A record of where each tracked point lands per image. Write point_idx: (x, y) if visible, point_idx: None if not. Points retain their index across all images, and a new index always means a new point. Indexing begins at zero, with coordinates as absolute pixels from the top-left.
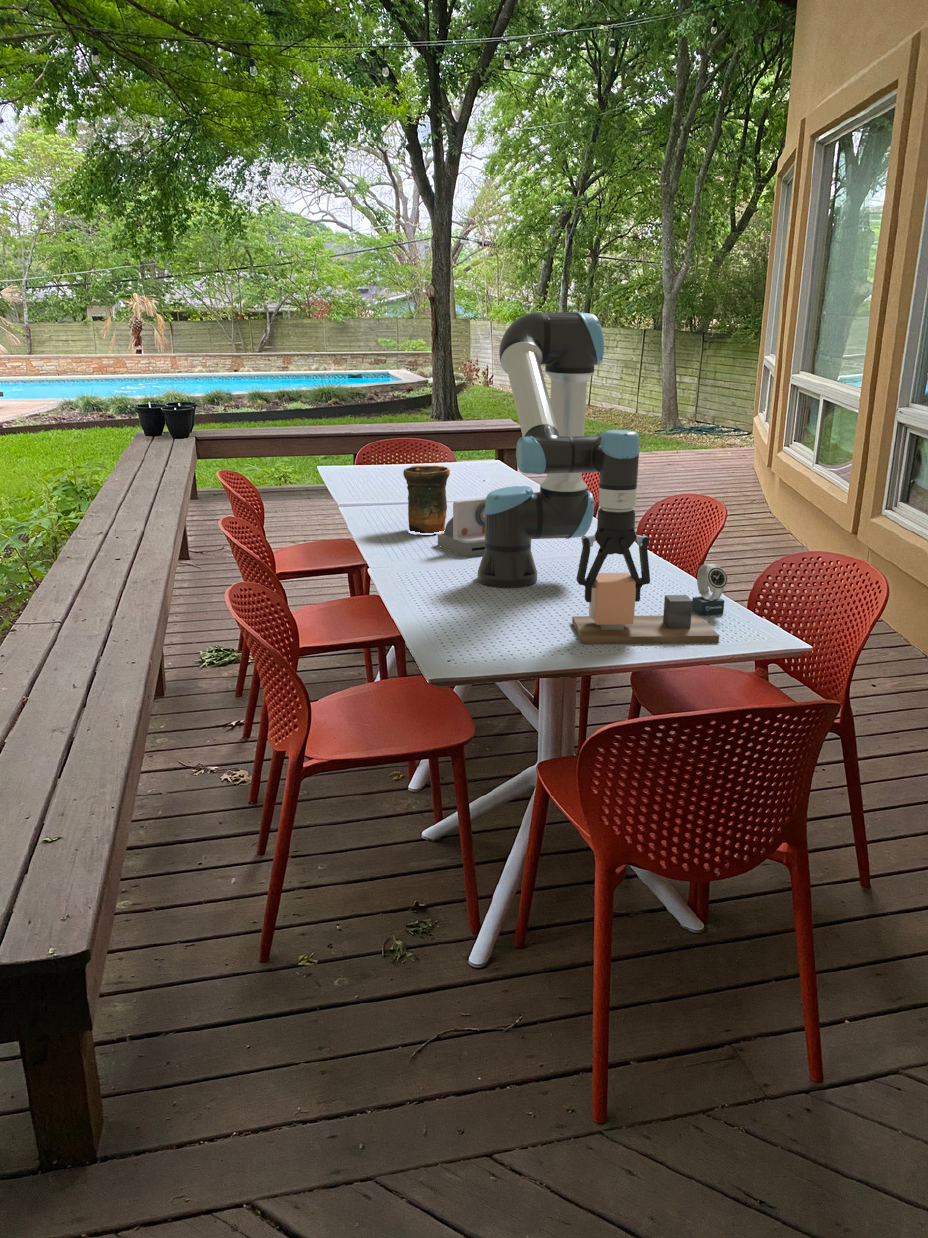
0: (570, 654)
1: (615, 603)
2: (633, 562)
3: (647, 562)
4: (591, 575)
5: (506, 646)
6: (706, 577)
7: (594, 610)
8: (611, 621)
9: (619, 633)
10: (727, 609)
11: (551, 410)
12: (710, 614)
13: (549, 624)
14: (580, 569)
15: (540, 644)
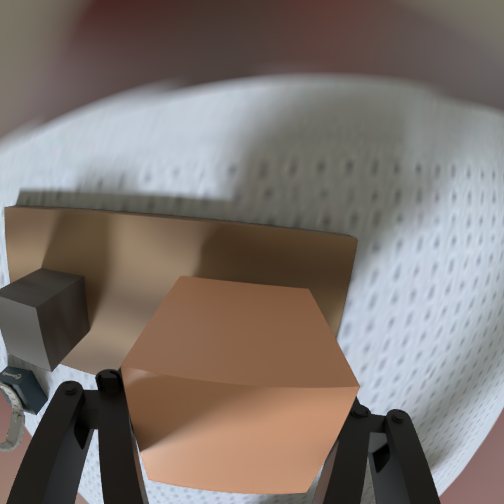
0: (401, 162)
1: (246, 317)
2: (103, 491)
3: (29, 456)
4: (366, 448)
5: (489, 250)
6: None
7: None
8: (257, 288)
9: (233, 257)
10: None
11: None
12: (20, 369)
13: (365, 385)
14: (423, 461)
15: (439, 252)
